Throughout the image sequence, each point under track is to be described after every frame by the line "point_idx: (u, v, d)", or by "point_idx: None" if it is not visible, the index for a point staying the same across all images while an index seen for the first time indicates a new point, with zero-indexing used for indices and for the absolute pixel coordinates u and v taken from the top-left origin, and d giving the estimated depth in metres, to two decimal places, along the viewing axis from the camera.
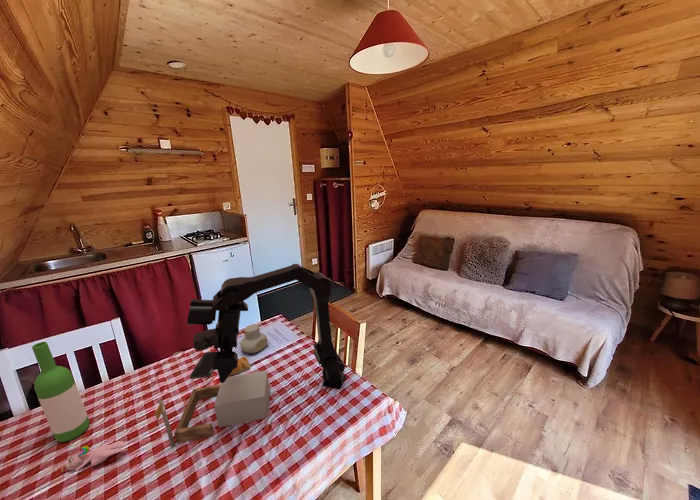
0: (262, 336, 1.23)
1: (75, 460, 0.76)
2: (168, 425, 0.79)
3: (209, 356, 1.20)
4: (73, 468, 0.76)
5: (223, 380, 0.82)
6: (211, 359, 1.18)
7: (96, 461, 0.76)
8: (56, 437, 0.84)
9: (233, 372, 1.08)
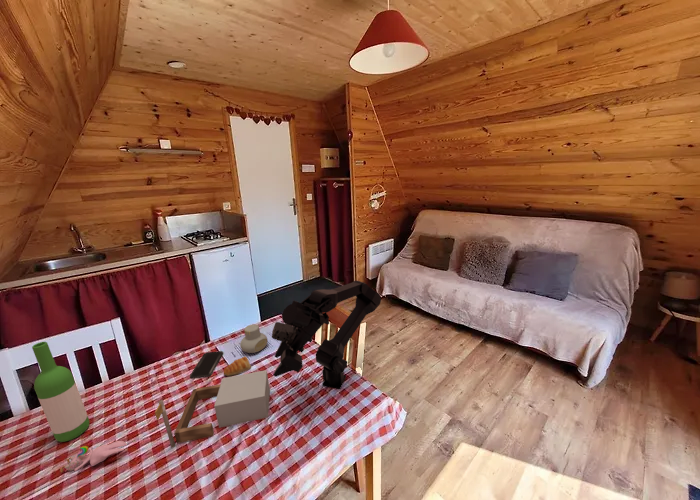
0: (262, 336, 1.23)
1: (74, 460, 0.76)
2: (168, 425, 0.79)
3: (209, 356, 1.20)
4: (72, 468, 0.76)
5: (276, 374, 0.87)
6: (211, 359, 1.18)
7: (95, 461, 0.76)
8: (56, 437, 0.84)
9: (233, 372, 1.08)
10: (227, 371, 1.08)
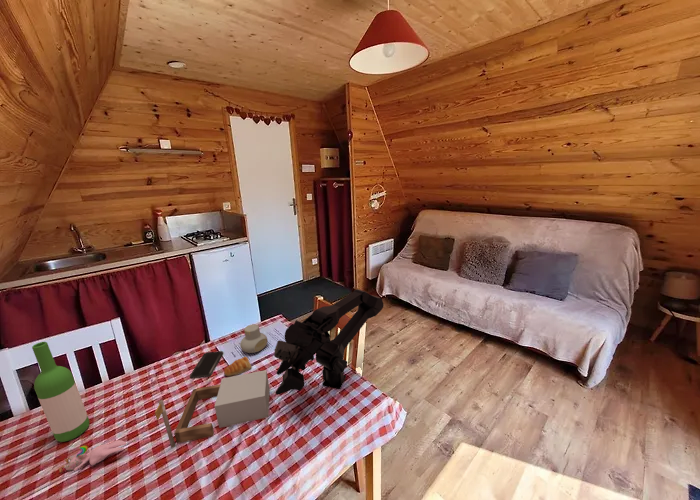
0: (262, 336, 1.23)
1: (73, 460, 0.76)
2: (168, 425, 0.79)
3: (209, 356, 1.20)
4: (71, 468, 0.76)
5: (279, 393, 0.89)
6: (211, 359, 1.18)
7: (95, 460, 0.76)
8: (56, 437, 0.84)
9: (234, 372, 1.08)
10: (228, 371, 1.08)
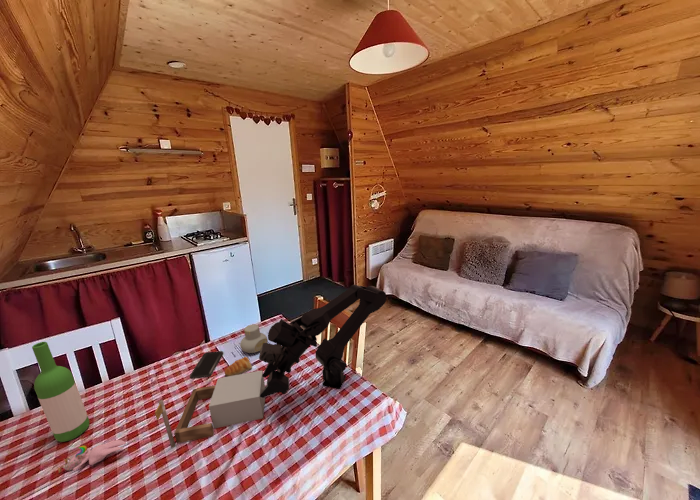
0: (262, 336, 1.23)
1: (72, 460, 0.76)
2: (168, 425, 0.79)
3: (209, 356, 1.20)
4: (70, 468, 0.76)
5: (263, 396, 0.88)
6: (211, 359, 1.18)
7: (94, 460, 0.76)
8: (56, 437, 0.84)
9: (235, 373, 1.08)
10: (228, 371, 1.08)
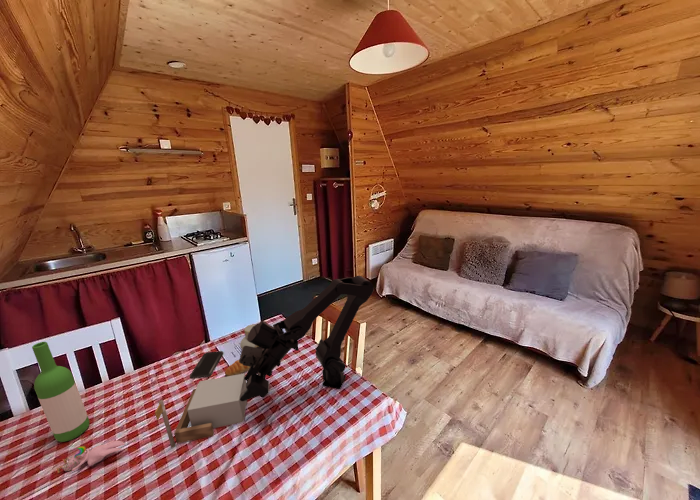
0: None
1: (71, 460, 0.76)
2: (168, 425, 0.79)
3: (209, 356, 1.20)
4: (69, 468, 0.76)
5: (243, 399, 0.87)
6: (211, 359, 1.18)
7: (93, 461, 0.76)
8: (56, 437, 0.84)
9: (235, 373, 1.08)
10: (229, 372, 1.08)
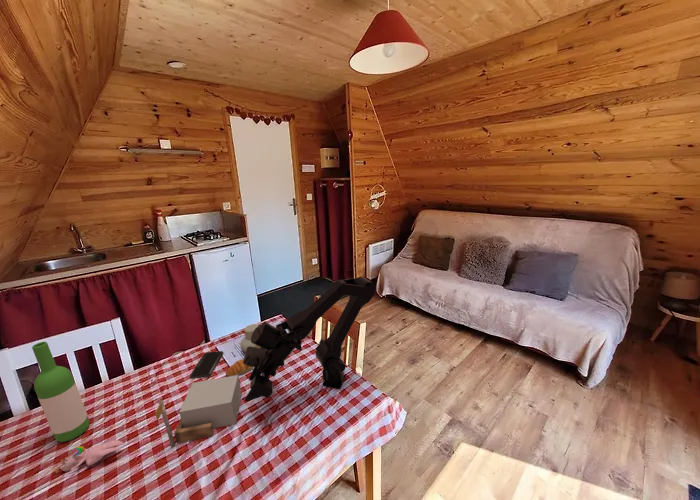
0: None
1: (70, 461, 0.76)
2: (168, 425, 0.79)
3: (209, 356, 1.20)
4: (68, 469, 0.76)
5: (248, 400, 0.88)
6: (211, 359, 1.18)
7: (91, 461, 0.76)
8: (56, 437, 0.84)
9: (236, 373, 1.08)
10: (230, 372, 1.07)
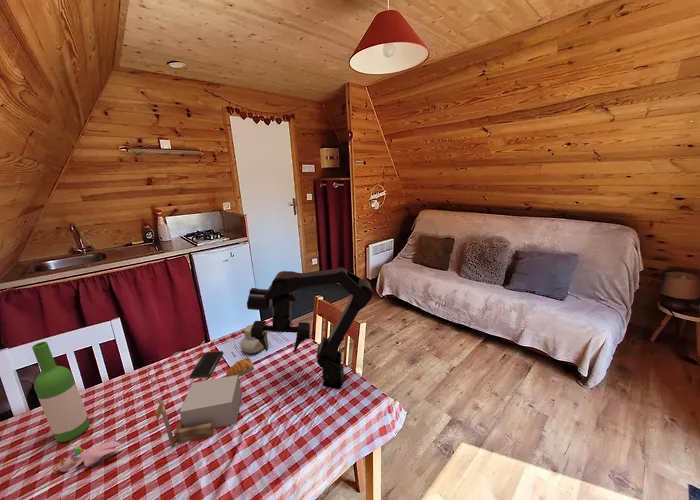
0: None
1: (68, 461, 0.76)
2: (168, 425, 0.79)
3: (209, 356, 1.20)
4: (66, 469, 0.76)
5: None
6: (211, 359, 1.18)
7: (89, 462, 0.76)
8: (56, 437, 0.84)
9: (237, 373, 1.07)
10: (230, 372, 1.07)
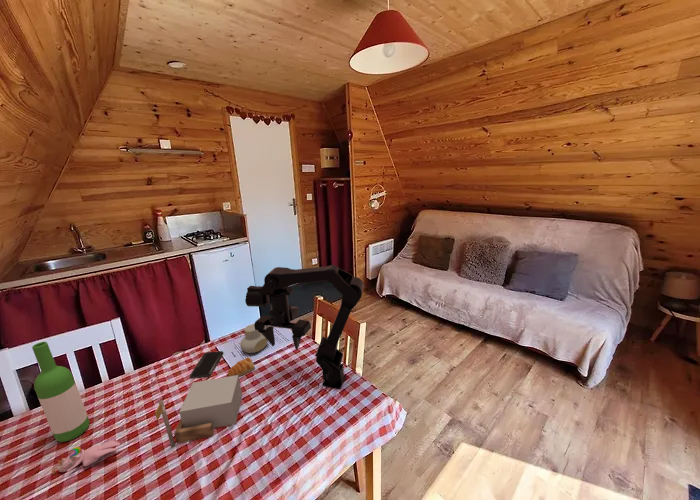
0: (262, 336, 1.23)
1: (66, 461, 0.76)
2: (168, 425, 0.79)
3: (209, 356, 1.20)
4: (64, 469, 0.76)
5: None
6: (211, 359, 1.18)
7: (88, 461, 0.76)
8: (56, 437, 0.84)
9: (238, 374, 1.07)
10: (231, 373, 1.07)
